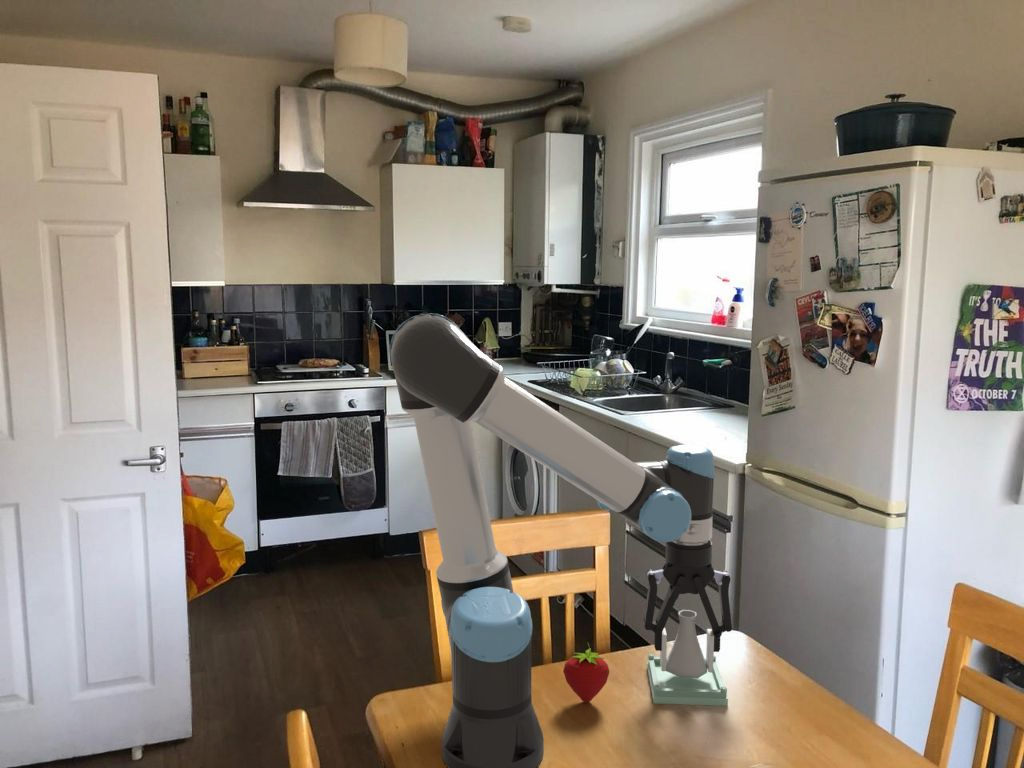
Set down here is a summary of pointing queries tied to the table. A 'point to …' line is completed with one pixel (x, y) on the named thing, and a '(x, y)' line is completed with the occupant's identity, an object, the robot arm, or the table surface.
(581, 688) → the strawberry
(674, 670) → the flask
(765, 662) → the table surface
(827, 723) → the table surface
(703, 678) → the base board
